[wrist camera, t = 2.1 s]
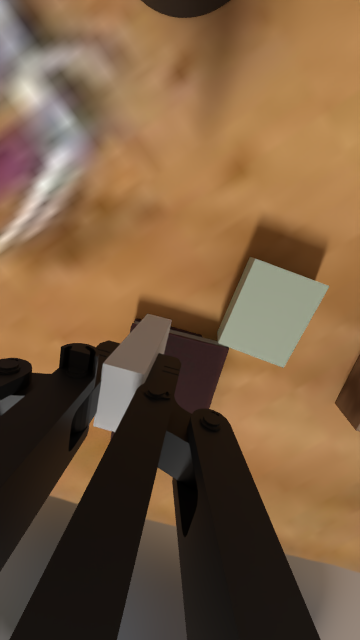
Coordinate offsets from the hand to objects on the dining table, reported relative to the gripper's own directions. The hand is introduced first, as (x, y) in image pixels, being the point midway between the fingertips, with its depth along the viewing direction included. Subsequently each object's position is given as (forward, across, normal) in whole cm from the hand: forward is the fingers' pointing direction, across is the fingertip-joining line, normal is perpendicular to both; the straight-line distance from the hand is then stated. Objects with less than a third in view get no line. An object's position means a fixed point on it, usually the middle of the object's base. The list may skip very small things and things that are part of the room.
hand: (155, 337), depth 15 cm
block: (+17, +10, 0) cm, 20 cm away
